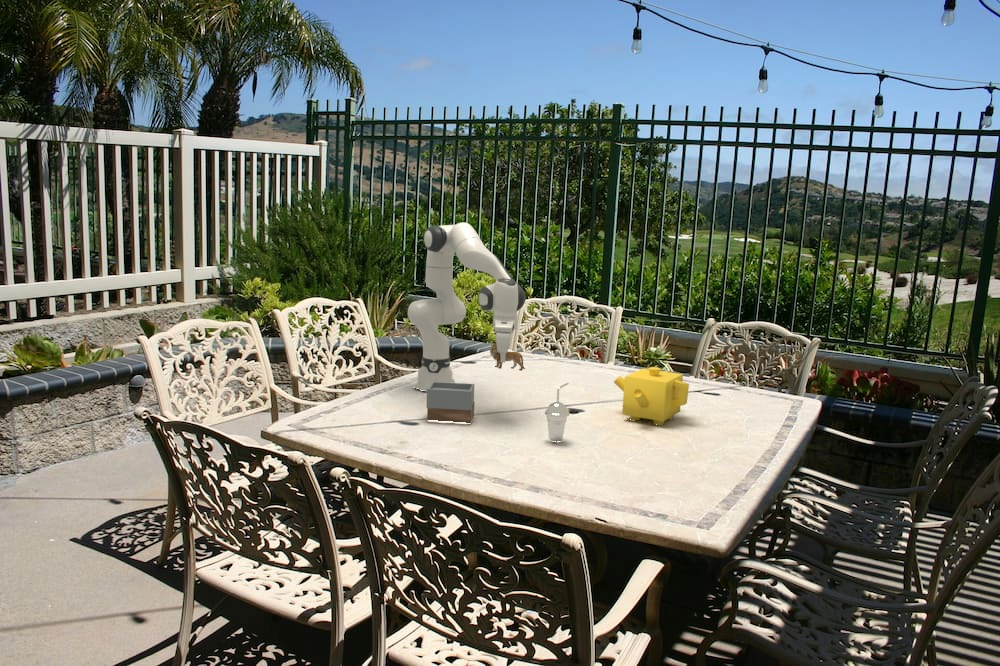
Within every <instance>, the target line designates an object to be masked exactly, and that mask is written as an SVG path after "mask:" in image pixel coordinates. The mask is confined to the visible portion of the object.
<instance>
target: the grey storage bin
mask: <svg viewBox="0 0 1000 666" xmlns="http://www.w3.org/2000/svg"><path fill="white" fill-rule="evenodd" d="M474 402H475V383H461V382H460V383H459V382H455V383H447V382H432V383H431V384H430V385H429V387H428V388H427V392H426V409H428V408H438V409H456V410H471V408H472V405H473V403H474Z"/></svg>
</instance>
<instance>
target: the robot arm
mask: <svg viewBox="0 0 1000 666" xmlns="http://www.w3.org/2000/svg"><path fill="white" fill-rule="evenodd" d="M423 244H424V246H425V248H426V250H427V253H426V260H425V278H424V280H425V281H424V282H425V284H426V286H427V287H428V289H429V290H432V291H434V292H435V294H436V298H429V299H428V298H427V299H425V298H424V299H423V298H422V299H418V300H415V301H412V302H411V303H410V304H409V306H408V307H407V317H408V319H409V321H410V323H411V324H413V325H414V326H415V327H416V328H417V329H418V331H419V333H420V335H421V339H422V356H421V367H420V368H418V370H417V381H416V384H415V385H413V386H412V387H415V388H419V389H421V390H425V391H427V388H428V387H429V385H430V384H431V383H432V382H447V383H456V381H455V379H454V378H453V374H454V372H453V370H452V369H451V357H450V338H448V336H446V334H444V333H441V332H439V326H442V325H443V326H444V325H454V324H458V323H460V322H463V320H464V319H465V317H466V314H467V307H466V305H465V303H464V302H463V300H461V299H460V298H459V297H458V296H457V294H456V292H455V291H454V285H453V267H454V266H453V261H454V255H456V257H457V259H458V260H459V262H460V263H461V264H462V265H463V266H464V267H465V268H467V269H470V270H475V271H478V272H481V273H485V274H488V275H490V276H492V277H493V278H494V279H495V282H494V283H492V284H489V285H486V286H485V285H484V286H483V287H482V288H480V290H479V292H478V294H477V304H478V306H479V307H480V309H482V310H483V311H486V312H493V316H492V317H493V318H492V320H493V321H492V328H493V329H494V332H495V337H496V338H495V340H496V342H495V343H497V352H498V353H500V362H502V364H503V363H506V361H505V360H506V353H507V352H509V351H508V350H509V348H510V344H511V338H512V337H511V335H512V334H514V331H515V330H517V329H518V315H519V314H518V312H519V311H520V310H521V309H522V308H523V306H524V304H525V303H526V299H527V298H526V293H525V290H524V289H523V288H522V286H521V285H520V284H519V283H517V282H516V281H515V279H514V278H513V276H512V274H510V272H509V270H508V269H507V267H505V265H504V264H503V262H502V261H501V260H500V259H499V258H498V256H496V255H495V254H493V253H492V252H491V251H490V250H489V249H488V248H487V247H486V246H485V244H484V243H483V242H482V240H481V238H480V235H479V234H478V233H477V231H476V230H475V228H474V227H473V226H472V225H471V224H470V223H468V222H463V221H462V222H457V223H456V224H446V225H444V224H443V225H432V226H429V227H427V228H426V230H425V231H424V234H423Z"/></svg>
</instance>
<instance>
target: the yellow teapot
mask: <svg viewBox="0 0 1000 666" xmlns="http://www.w3.org/2000/svg"><path fill="white" fill-rule="evenodd" d="M683 377H684V375H683V374H682V373H677V372H676V373H675V372H670V371H664V370H662V371H661V367H657V366H649V367H648V368H645V367H644V368H642V369H639V370H636V371H634V372H632V373H630V374H628V375H626V376H624V378H623V376H621V375H620V376H618V377H617V378H615V380H614V381H613V383H614V384H615V386H617V387H618V388H619V389H620V390H621V391H622V392H623V397H622V412H621V414H622V415H624V416H629V418H630V419H631V420H639V421H640V420H641V419H646V420H651V421H653V423H654V424H657V425H656V426H658V425H663V424H664V425H665V421H668V420H667V419H672V418H673V417H674V415H677V414H678V413H679V412H681V407H682V406H685V405H687V404H688V395H689V387H690V384H689V383H687V382H684V381H683V380H684V379H683ZM631 420H630V421H631ZM654 424H653V425H654ZM664 425H663V426H664Z"/></svg>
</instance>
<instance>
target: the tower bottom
mask: <svg viewBox="0 0 1000 666" xmlns="http://www.w3.org/2000/svg"><path fill="white" fill-rule="evenodd" d="M475 403H476V402H475V401H474V403H473V405H472V408H471V410H456V409H438V408H426V409H427V416H426V417H427V418H426V421H427V420H438V421H453V422H466V423H471V421H472V419H473V420H474V418H473V416H474V417H475V405H476V404H475ZM472 422H473V421H472ZM471 424H472V423H471Z"/></svg>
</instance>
